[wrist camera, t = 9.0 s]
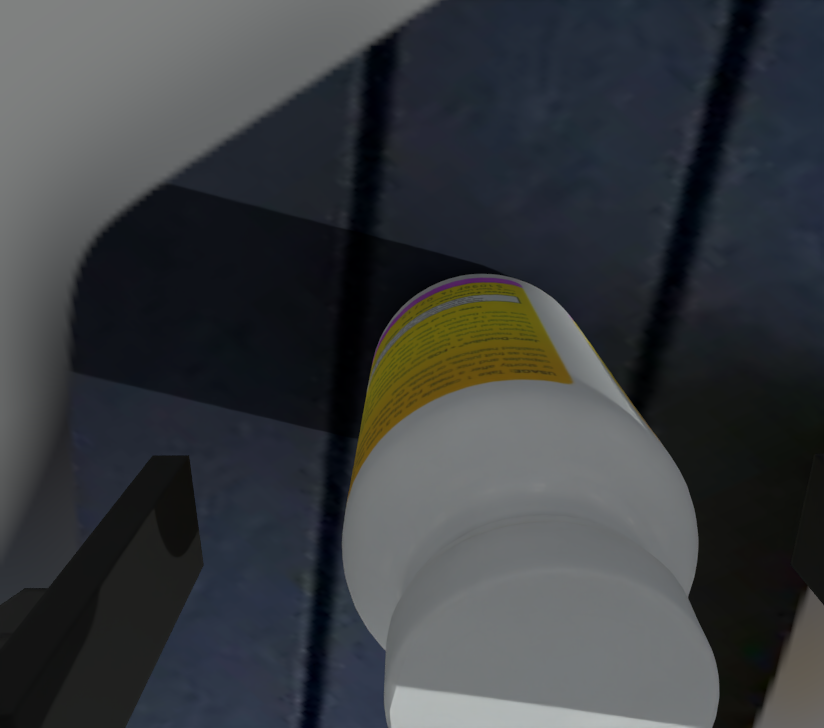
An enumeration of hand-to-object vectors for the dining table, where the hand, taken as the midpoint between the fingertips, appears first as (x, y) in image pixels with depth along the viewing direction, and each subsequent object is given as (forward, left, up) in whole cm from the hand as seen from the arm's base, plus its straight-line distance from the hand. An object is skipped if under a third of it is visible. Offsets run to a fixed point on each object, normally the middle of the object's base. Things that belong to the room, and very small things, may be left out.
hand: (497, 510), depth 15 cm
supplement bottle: (0, 0, -8) cm, 8 cm away
